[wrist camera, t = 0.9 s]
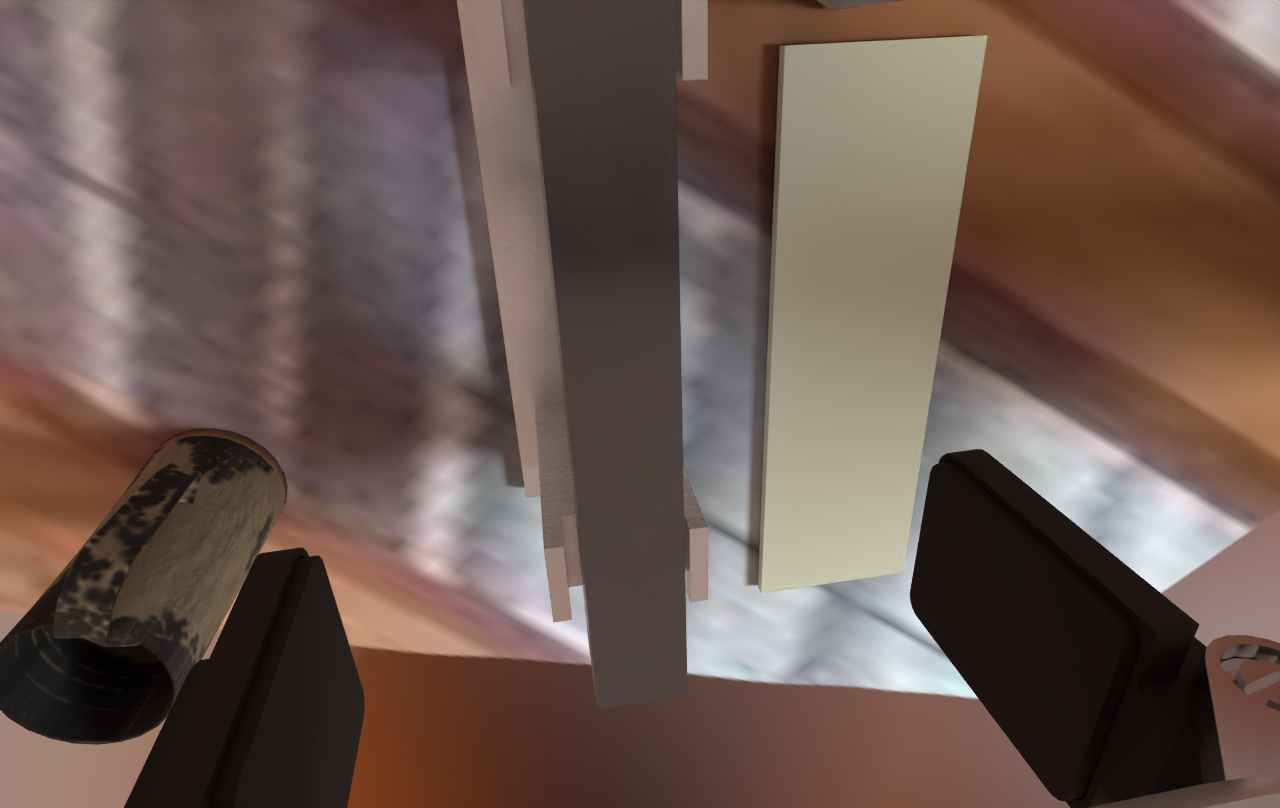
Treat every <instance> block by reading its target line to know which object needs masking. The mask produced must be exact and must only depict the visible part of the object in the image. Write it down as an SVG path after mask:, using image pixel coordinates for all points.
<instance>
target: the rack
mask: <svg viewBox="0 0 1280 808" xmlns="http://www.w3.org/2000/svg"><path fill="white" fill-rule="evenodd" d="M457 6H458V13H459V20H460V27H461V34H462V42H463V49H464V56H465V63H466V70H467V78H468V85H469V92H470V99H471V106H472V113H473V121H474V128H475V135H476V142H477V149H478V157H479V164H480V171H481V178H482V185H483V192H484V200H485V207H486V214H487V221H488V228H489V236H490V243H491V250H492V257H493V264H494V272H495V279H496V286H497V293H498V300H499V307H500V315H501V322H502V329H503V336H504V343H505V351H506V358H507V365H508V372H509V379H510V387H511V394H512V401H513V408H514V415H515V422H516V430H517V437H518V444H519V451H520V458H521V466H522V473H523V480H524V487H525V494H526V497H534V496H541V510H542V525H543V540H544V553H545V560H546V568H547V576H548V583H549V591H550V599H551V606H552V614H553V622H559V621H565V620H572V616H571V607H570V597H569V588H568V587H573V586H580V585H583V583H582V574H581V564H580V554H579V545H578V535H577V525H576V515H575V506H574V496H573V486H572V476H571V467H570V457H569V447H568V437H567V428H566V418H565V408H564V399H563V389H562V379H561V369H560V360H559V350H558V340H557V330H556V321H555V311H554V301H553V292H552V282H551V272H550V262H549V253H548V243H547V233H546V223H545V214H544V204H543V194H542V184H541V175H540V165H539V155H538V146H537V136H536V126H535V116H534V107H533V97H532V87H531V77H530V68H529V58H528V48H527V39H526V29H525V19H524V9H523V0H457ZM674 14H675V67H676V79H677V80H701V79H708V0H674ZM683 490H684V543H685V586H686V589H687V593H688V596H689V599H690V602H694V601H701V600H708V526H707V524H706V521H705V519H704V516H703V514H702V512H701V509H700V507H699V504H698V502H697V499H696V497H695V494H694V492H693V490H692V487H691V485H690V482H689V480H688V477H687V475H686V473H685V470H684V468H683Z"/></svg>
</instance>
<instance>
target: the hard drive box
mask: <svg viewBox="0 0 1280 808" xmlns="http://www.w3.org/2000/svg"><path fill="white" fill-rule="evenodd" d="M816 1H818V2H819V3H821V4H822V5H824V6H826V7H828V8H830V9H832V10H837V9H844V8H851V7H857V6H863V5H870V4H877V3H883V2H890V1H899V0H816Z"/></svg>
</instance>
